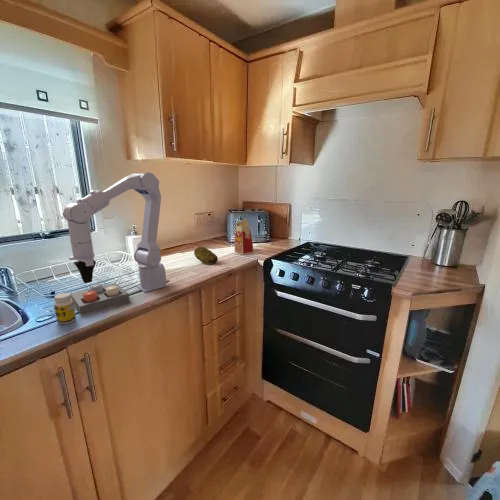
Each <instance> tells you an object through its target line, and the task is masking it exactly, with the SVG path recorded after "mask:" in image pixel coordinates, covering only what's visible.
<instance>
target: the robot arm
mask: <svg viewBox="0 0 500 500" xmlns="http://www.w3.org/2000/svg"><path fill="white" fill-rule="evenodd" d="M159 185H160V180H159V179H158V177H156V175H155V174H154V173H152V172H133V173H131V174H129V175H126V176H124V177H123V178H122V179H120V180H118V181H117V182H116V183H114V184H113V185H110V186H109V187H107V188H106V189H105V190H97V189H96V190H91V191H89V192H88V193H89V194H88V195H86V196H84V197H82V198H78V199H76V200H75V201H76V203H68V204H67V205H65V206H64V209H63V212H62V216H63V218H64V219H65V220H66V221H67V226H68V235H69V239H70V245H71V252H72V256H68V259H69V261H74V262H73V264H74V265H75V266H76V268H77V270H78V272H79V274H80V276H81V279H82V281H83V283H84V284H88V283H92V281H93V277H94V276H93V274H94V270H95V266H96V264H97V262H96V261H95V259H94V258H95V253H94V247H93V246H94V245H93V241H92V234H91V225H90V221H91V219H92V216H94V215H95V214H97V213H98V212H101V211H102V210H104V209H105V208H106V207H108V206H109V205H110V203H111V200H112V199H114V198H116V197H118V196H120V195H122V194H123V193H125V192H127V191H128V190H129V191H130V190H133V191H135V192H137V193H138V194H140V195H141V196H142V198H143V199H144V200H145V203H144V211H143V212H144V214H143V221H142V222H143V223H142V230H141V231H142V232H141V238H140V239H141V240H140V241H139V242H138V243H137V245H136V249H135V251H134V254H133V259H134V261H135V262H136V263H137V267H138V273H139V274H138V275H139V283H140V284H138V285H136V287H137V288H138V289H139V290H141V291H143V293H146V292H150V291H154V290H158V289H161V288H165V287H168V284H167V276H166V275H167V273H166V267H165V266H164V264H163V263H161V261H162V255H161V247H160V245H158V243H157V239H158V238H157V237H158V229H159V222H160V221H159V219H160V211H161V202H162V195H161V191H160V186H159Z"/></svg>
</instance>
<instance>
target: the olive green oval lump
mask: <svg viewBox="0 0 500 500" xmlns="http://www.w3.org/2000/svg"><path fill="white" fill-rule="evenodd" d="M193 254H194V256H195V258H196V259H197V260H198V261H199V262H201V264H204V265H205V264H206V265H215V264H216V263H217V262H218V259H219V258H218V256H217V255H216V253H214V252H213V251H212V250H210V249H208V248H207V247H205V246H199V247H198V246H197V247H196V248H195V249H194V250H193Z"/></svg>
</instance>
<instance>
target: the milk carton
mask: <svg viewBox="0 0 500 500" xmlns="http://www.w3.org/2000/svg"><path fill="white" fill-rule="evenodd" d="M250 227H251V226H250V224H249V221H248V218H247V217H246V218H245V219H243V220H239V221H237V222H236V227H235V234H234V235H235V236H234V252H235V253H236V254H238V255H247V254H249V255H250V254H254V241H253V236H252V231H251V228H250Z"/></svg>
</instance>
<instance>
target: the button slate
mask: <svg viewBox="0 0 500 500" xmlns="http://www.w3.org/2000/svg"><path fill="white" fill-rule="evenodd" d="M103 286H104V285H103V283H95V284H91V285H90V286H89V289H90V291H96V292H97V293H101V292H104V291H103Z"/></svg>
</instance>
